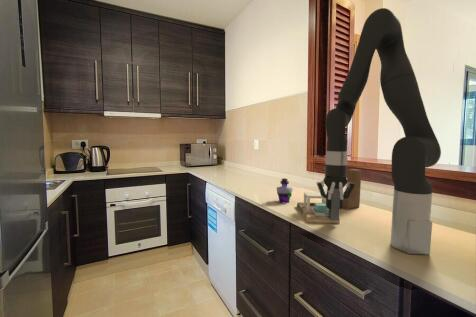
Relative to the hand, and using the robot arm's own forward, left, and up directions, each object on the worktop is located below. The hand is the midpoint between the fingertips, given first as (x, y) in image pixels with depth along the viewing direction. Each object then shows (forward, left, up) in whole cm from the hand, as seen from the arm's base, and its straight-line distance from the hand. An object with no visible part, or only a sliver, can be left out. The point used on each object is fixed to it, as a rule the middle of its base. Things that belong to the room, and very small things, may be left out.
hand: (334, 208), depth 93 cm
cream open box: (+14, +3, -4) cm, 15 cm away
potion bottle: (+33, +14, -6) cm, 37 cm away
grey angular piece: (+4, +2, -4) cm, 6 cm away
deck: (+13, +3, -6) cm, 15 cm away
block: (+6, +3, -4) cm, 8 cm away
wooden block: (+25, -16, -6) cm, 31 cm away
